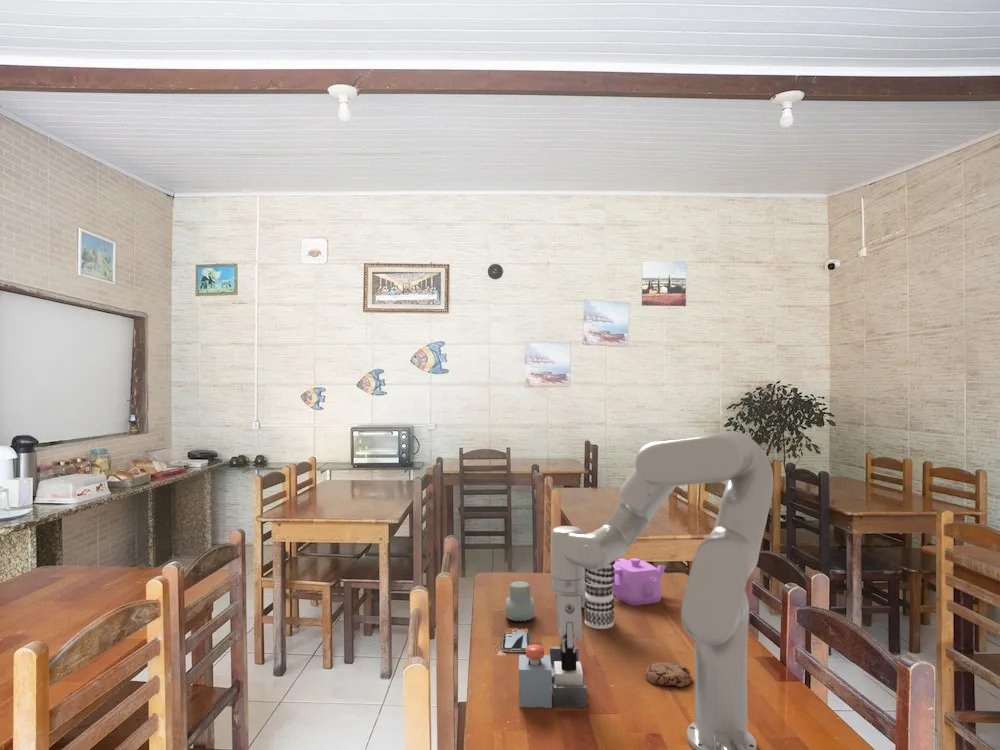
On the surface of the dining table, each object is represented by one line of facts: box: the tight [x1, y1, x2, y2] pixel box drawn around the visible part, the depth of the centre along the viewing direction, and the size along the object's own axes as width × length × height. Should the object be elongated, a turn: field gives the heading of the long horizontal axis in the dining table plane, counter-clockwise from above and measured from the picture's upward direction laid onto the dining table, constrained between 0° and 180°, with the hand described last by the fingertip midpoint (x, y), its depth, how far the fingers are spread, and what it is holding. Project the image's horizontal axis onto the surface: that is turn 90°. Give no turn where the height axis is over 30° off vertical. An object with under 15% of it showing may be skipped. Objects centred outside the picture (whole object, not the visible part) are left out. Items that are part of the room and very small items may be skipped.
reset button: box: [525, 644, 545, 665], centre depth 131 cm, size 4×4×6 cm
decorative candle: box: [583, 560, 616, 630], centre depth 173 cm, size 9×9×25 cm
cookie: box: [645, 662, 693, 688], centre depth 140 cm, size 10×11×3 cm
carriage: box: [552, 639, 586, 694], centre depth 133 cm, size 6×7×10 cm
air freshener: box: [505, 580, 535, 623], centre depth 176 cm, size 11×8×10 cm
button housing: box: [518, 654, 553, 709], centre depth 131 cm, size 7×7×8 cm
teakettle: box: [612, 557, 666, 606], centre depth 193 cm, size 17×17×12 cm
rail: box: [549, 646, 588, 708], centre depth 138 cm, size 20×7×4 cm, turn 178°
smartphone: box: [501, 628, 531, 651], centre depth 161 cm, size 7×1×15 cm
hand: (568, 664), depth 133 cm, fingers closed on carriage, 3 cm apart
